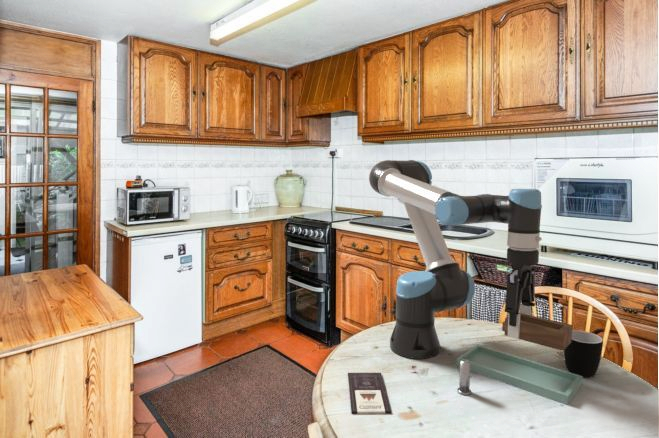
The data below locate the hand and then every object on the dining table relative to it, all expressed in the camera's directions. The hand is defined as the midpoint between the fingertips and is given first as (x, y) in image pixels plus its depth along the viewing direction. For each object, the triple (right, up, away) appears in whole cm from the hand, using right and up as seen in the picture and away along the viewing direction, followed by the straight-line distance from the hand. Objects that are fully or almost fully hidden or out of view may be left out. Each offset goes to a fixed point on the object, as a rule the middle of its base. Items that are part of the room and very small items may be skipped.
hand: (518, 332), depth 109 cm
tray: (0, -12, +1) cm, 12 cm away
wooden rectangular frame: (+3, -1, -3) cm, 5 cm away
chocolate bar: (-41, -14, -7) cm, 44 cm away
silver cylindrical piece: (-17, -13, -7) cm, 22 cm away
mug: (+18, -11, +4) cm, 22 cm away
